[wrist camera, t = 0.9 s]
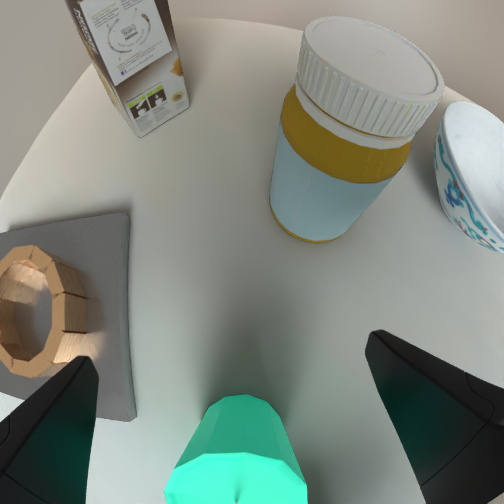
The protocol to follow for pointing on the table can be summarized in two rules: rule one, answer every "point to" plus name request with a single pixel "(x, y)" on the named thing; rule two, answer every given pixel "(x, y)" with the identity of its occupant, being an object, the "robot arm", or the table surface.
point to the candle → (238, 458)
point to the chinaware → (472, 172)
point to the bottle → (347, 123)
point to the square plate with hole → (67, 307)
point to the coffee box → (134, 57)
